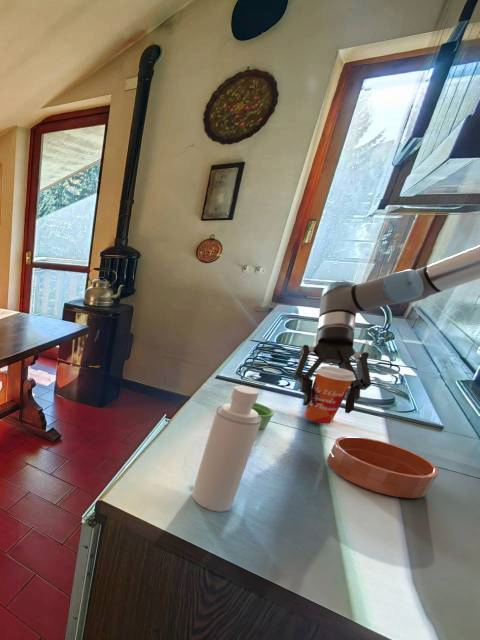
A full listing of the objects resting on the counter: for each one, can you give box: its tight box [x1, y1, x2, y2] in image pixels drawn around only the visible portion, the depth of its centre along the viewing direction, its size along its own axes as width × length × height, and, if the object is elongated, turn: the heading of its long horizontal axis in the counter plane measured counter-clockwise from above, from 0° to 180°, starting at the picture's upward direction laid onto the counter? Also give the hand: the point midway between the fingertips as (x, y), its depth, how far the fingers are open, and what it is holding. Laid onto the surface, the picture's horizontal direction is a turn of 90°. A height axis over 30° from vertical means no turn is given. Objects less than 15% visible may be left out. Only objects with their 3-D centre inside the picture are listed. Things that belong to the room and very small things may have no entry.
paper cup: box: [304, 365, 356, 425], centre depth 102 cm, size 8×8×14 cm
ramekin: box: [252, 402, 275, 430], centre depth 104 cm, size 9×9×4 cm
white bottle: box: [191, 385, 262, 513], centre depth 70 cm, size 7×7×25 cm
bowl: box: [326, 435, 439, 499], centre depth 82 cm, size 15×15×6 cm
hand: (327, 407), depth 100 cm, fingers closed on paper cup, 8 cm apart
